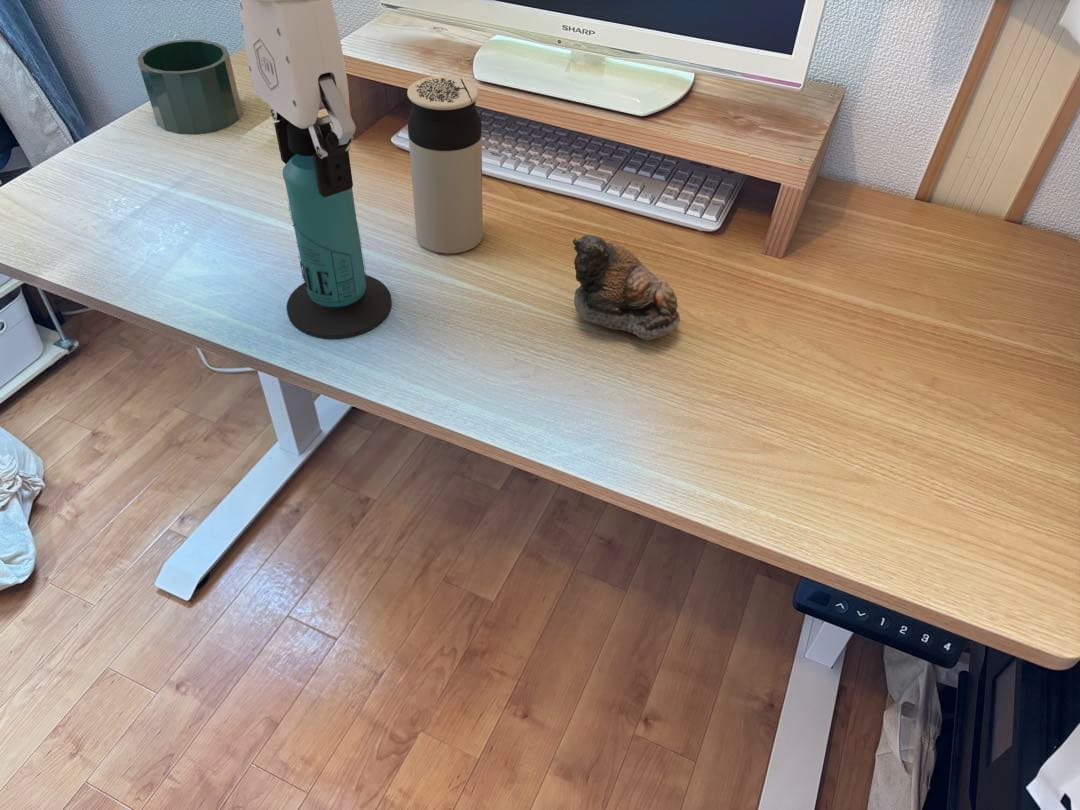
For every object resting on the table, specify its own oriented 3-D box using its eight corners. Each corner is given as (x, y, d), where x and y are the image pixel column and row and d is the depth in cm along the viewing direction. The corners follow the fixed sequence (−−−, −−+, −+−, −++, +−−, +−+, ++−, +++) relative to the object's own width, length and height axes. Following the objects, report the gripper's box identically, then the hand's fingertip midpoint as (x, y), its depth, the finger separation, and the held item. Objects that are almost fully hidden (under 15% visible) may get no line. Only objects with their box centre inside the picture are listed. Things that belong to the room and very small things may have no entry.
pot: (211, 152, 108) (191, 79, 101) (142, 135, 110) (118, 63, 103) (260, 118, 116) (245, 48, 108) (195, 103, 118) (176, 34, 111)
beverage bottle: (376, 286, 87) (354, 110, 73) (360, 323, 83) (334, 143, 68) (318, 280, 88) (285, 103, 73) (299, 317, 83) (260, 136, 69)
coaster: (359, 350, 81) (358, 346, 80) (266, 322, 83) (265, 318, 83) (409, 290, 88) (409, 286, 87) (323, 267, 90) (322, 262, 90)
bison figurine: (680, 317, 87) (697, 238, 79) (671, 358, 82) (688, 278, 75) (573, 296, 88) (581, 218, 81) (558, 335, 84) (565, 255, 76)
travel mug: (417, 257, 92) (405, 107, 80) (416, 220, 98) (404, 74, 85) (485, 254, 93) (483, 106, 81) (480, 218, 99) (478, 74, 86)
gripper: (190, -55, 65) (239, 149, 77) (289, 9, 56) (326, 229, 68) (275, -68, 68) (309, 129, 81) (381, -10, 59) (401, 202, 72)
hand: (316, 173), depth 74 cm, fingers closed on beverage bottle, 6 cm apart
